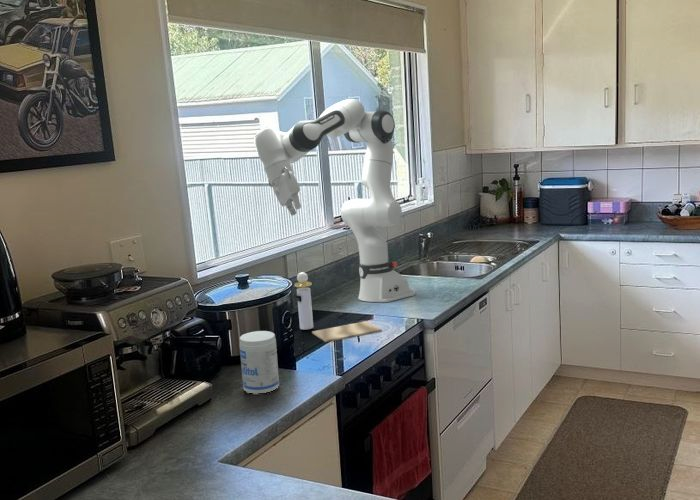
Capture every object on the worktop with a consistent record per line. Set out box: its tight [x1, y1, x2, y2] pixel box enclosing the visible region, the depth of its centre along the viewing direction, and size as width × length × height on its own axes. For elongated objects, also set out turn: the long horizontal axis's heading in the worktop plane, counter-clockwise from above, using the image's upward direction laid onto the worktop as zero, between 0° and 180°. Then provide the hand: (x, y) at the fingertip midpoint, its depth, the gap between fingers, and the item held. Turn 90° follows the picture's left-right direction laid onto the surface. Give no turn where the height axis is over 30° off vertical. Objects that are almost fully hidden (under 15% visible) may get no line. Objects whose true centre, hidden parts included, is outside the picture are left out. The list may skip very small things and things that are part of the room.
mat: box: [311, 320, 383, 343], centre depth 229 cm, size 20×12×1 cm, turn 114°
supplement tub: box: [239, 330, 280, 395], centre depth 183 cm, size 10×10×15 cm
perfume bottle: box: [294, 271, 314, 331], centre depth 233 cm, size 6×6×20 cm
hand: (296, 211), depth 230 cm, fingers open, 8 cm apart
